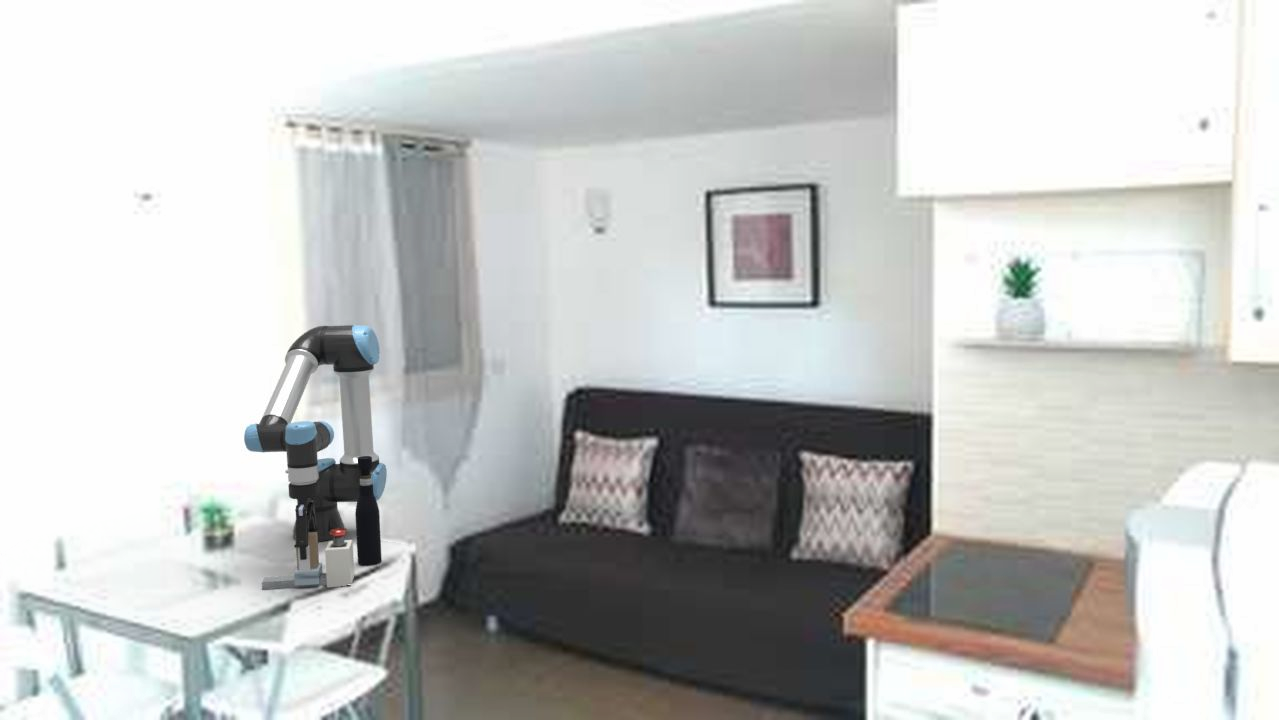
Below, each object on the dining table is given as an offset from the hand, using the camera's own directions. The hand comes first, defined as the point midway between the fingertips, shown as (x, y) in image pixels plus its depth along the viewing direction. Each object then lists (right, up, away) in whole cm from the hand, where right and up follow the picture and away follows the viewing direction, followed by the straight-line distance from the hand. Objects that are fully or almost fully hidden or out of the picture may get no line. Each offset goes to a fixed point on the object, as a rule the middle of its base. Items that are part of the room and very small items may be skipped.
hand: (308, 564), depth 258 cm
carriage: (0, -5, +1) cm, 5 cm away
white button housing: (+8, -5, +2) cm, 10 cm away
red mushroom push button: (+8, +2, +1) cm, 8 cm away
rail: (-3, -6, 0) cm, 6 cm away
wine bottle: (+11, -3, +18) cm, 21 cm away
